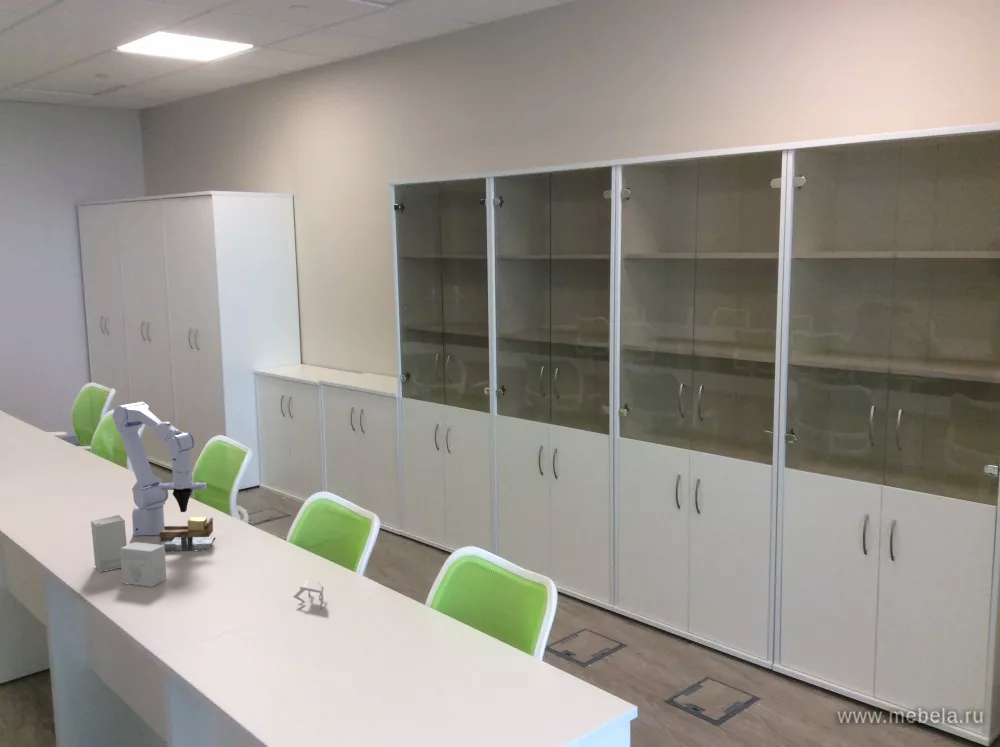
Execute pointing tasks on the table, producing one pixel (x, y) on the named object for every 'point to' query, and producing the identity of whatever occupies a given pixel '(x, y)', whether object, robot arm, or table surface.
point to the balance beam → (184, 532)
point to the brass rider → (197, 524)
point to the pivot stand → (188, 543)
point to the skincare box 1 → (108, 542)
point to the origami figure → (313, 587)
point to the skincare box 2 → (143, 564)
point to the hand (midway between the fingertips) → (183, 511)
